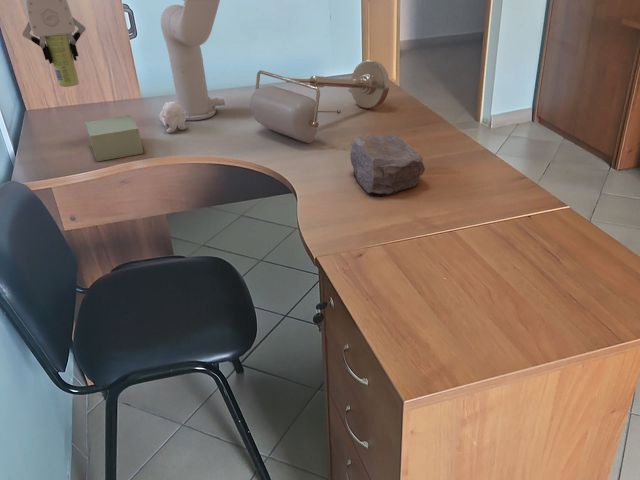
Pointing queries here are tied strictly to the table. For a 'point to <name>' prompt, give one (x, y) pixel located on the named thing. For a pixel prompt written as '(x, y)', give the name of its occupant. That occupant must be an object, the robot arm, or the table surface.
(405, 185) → the stone block
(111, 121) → the block
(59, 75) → the tube
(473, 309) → the table surface
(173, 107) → the white irregular rounded piece
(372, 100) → the lamp
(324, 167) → the table surface
